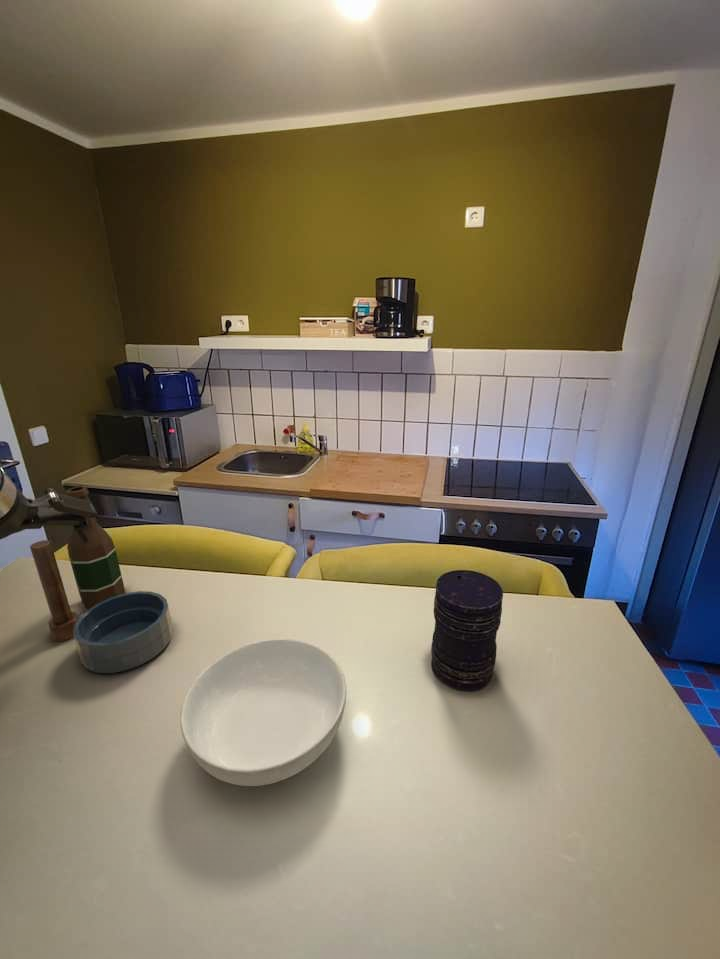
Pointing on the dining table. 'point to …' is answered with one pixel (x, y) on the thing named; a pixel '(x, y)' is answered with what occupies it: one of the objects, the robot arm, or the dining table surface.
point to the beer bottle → (94, 560)
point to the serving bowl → (263, 711)
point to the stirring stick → (54, 591)
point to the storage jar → (465, 629)
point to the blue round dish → (123, 631)
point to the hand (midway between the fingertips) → (37, 555)
